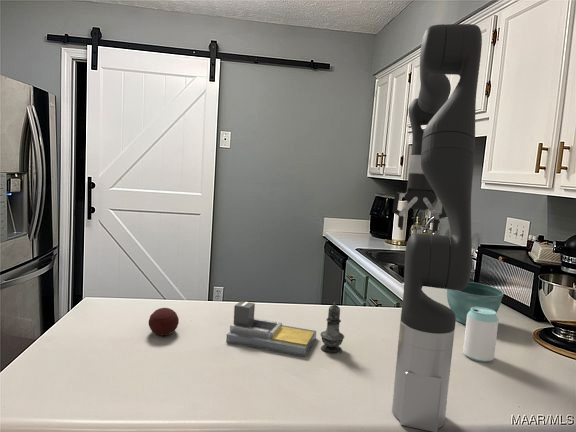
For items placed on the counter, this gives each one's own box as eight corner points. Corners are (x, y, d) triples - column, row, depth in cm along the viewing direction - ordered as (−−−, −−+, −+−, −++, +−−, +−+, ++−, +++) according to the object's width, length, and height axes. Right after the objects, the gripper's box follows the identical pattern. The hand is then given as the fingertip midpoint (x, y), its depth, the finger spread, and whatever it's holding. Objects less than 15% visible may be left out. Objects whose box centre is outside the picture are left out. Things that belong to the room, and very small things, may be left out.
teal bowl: (511, 329, 125) (516, 294, 124) (470, 333, 119) (474, 297, 118) (470, 311, 140) (473, 280, 139) (432, 314, 134) (435, 282, 133)
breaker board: (304, 356, 97) (305, 342, 96) (225, 342, 102) (226, 328, 102) (315, 338, 108) (316, 325, 108) (244, 325, 114) (244, 313, 113)
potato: (145, 340, 100) (146, 315, 100) (151, 325, 110) (152, 302, 110) (176, 340, 102) (177, 316, 101) (180, 325, 111) (180, 302, 111)
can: (475, 364, 99) (481, 315, 98) (456, 351, 106) (461, 305, 104) (500, 362, 101) (506, 314, 99) (479, 350, 107) (484, 305, 106)
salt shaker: (315, 350, 101) (319, 302, 100) (324, 342, 106) (328, 296, 105) (338, 356, 98) (342, 307, 97) (346, 348, 103) (350, 301, 102)
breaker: (247, 331, 105) (249, 307, 104) (233, 328, 106) (234, 304, 105) (253, 325, 109) (254, 302, 108) (239, 323, 110) (240, 300, 109)
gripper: (395, 170, 112) (390, 230, 114) (451, 174, 108) (445, 235, 110) (396, 171, 119) (391, 227, 121) (449, 174, 115) (443, 232, 117)
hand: (417, 231), depth 115 cm, fingers open, 8 cm apart
